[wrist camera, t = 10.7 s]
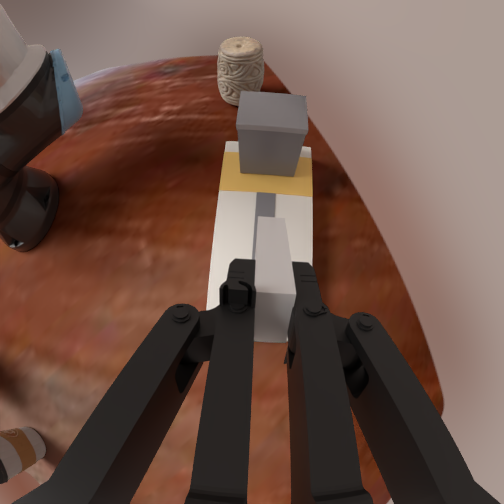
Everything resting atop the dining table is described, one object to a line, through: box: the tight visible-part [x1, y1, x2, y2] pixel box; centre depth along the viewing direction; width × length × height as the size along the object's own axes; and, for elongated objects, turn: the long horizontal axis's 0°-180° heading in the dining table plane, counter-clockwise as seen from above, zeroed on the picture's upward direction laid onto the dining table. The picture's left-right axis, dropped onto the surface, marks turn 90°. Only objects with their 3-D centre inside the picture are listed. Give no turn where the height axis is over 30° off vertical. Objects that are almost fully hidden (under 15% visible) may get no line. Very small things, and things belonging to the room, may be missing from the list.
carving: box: [217, 37, 264, 106], centre depth 37 cm, size 6×8×12 cm
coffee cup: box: [0, 427, 46, 484], centre depth 20 cm, size 8×8×15 cm
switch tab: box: [236, 91, 308, 177], centre depth 31 cm, size 5×7×10 cm
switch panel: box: [206, 141, 313, 341], centre depth 35 cm, size 26×12×3 cm, turn 176°
